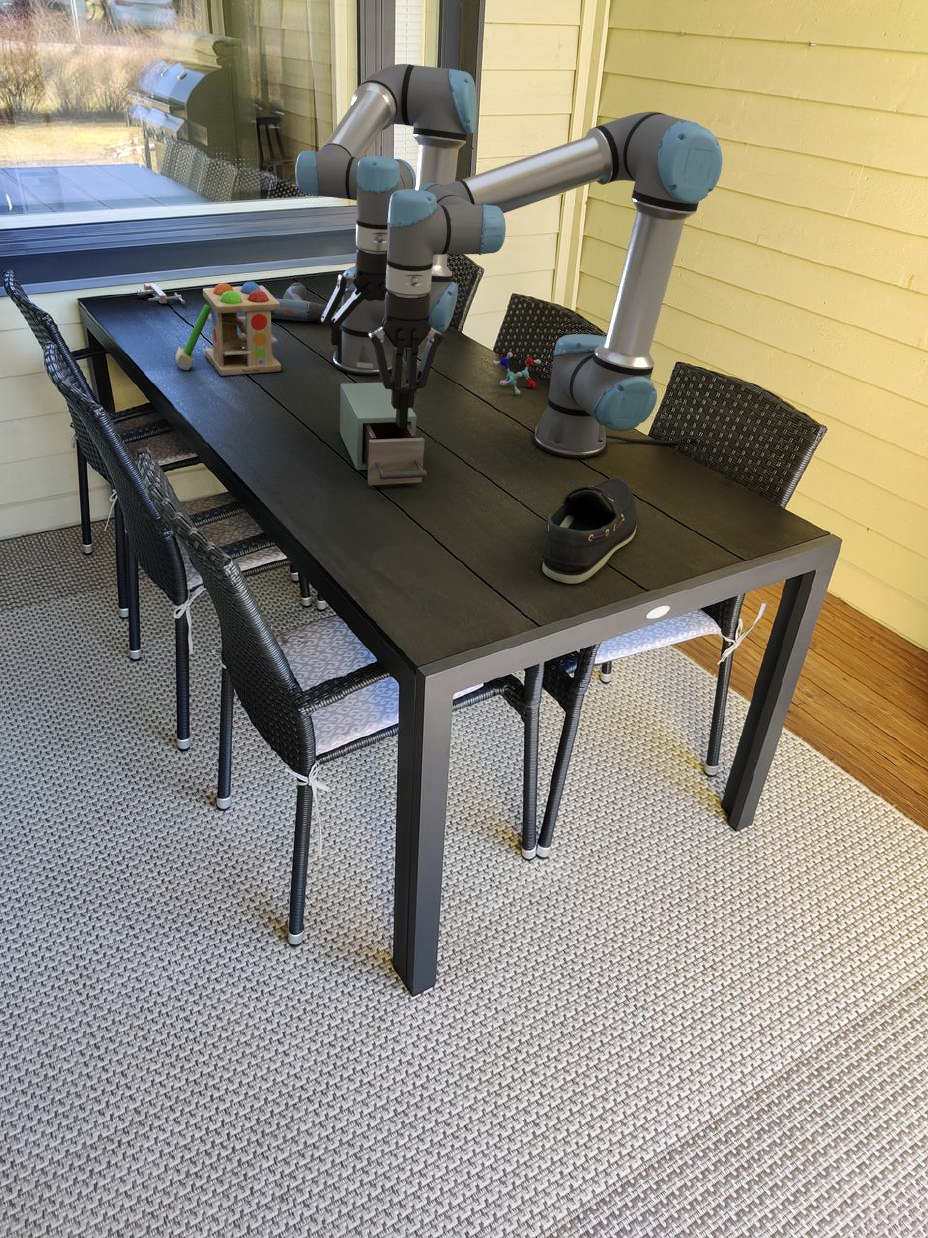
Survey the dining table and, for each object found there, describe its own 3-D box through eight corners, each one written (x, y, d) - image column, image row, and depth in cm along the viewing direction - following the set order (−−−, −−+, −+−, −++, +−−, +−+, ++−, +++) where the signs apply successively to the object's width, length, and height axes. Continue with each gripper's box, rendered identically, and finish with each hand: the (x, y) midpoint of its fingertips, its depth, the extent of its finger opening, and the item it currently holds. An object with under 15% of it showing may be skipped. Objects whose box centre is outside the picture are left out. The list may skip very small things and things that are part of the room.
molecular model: (536, 387, 225) (523, 344, 224) (499, 400, 229) (485, 359, 227) (549, 385, 235) (536, 345, 234) (513, 399, 239) (500, 359, 238)
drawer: (429, 496, 182) (432, 453, 177) (375, 499, 179) (377, 456, 174) (401, 446, 199) (403, 405, 194) (352, 448, 196) (352, 407, 191)
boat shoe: (659, 521, 184) (668, 470, 179) (580, 590, 160) (587, 533, 155) (597, 502, 190) (604, 452, 184) (512, 566, 166) (517, 511, 160)
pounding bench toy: (183, 379, 220) (176, 299, 210) (169, 357, 231) (162, 280, 221) (282, 371, 230) (280, 294, 220) (264, 350, 240) (262, 276, 230)
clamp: (132, 284, 268) (169, 281, 272) (133, 292, 269) (170, 289, 273) (148, 300, 257) (185, 297, 262) (148, 309, 259) (186, 306, 263)
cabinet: (413, 467, 194) (416, 416, 188) (356, 470, 190) (357, 418, 184) (393, 430, 207) (395, 382, 201) (339, 432, 204) (340, 383, 198)
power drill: (344, 304, 276) (335, 327, 259) (277, 298, 275) (264, 321, 258) (344, 285, 273) (335, 306, 256) (277, 279, 272) (264, 300, 255)
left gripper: (312, 253, 175) (312, 368, 187) (446, 254, 182) (438, 365, 194) (305, 242, 181) (306, 354, 193) (435, 244, 188) (428, 352, 200)
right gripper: (374, 298, 158) (370, 434, 171) (452, 298, 161) (441, 431, 175) (364, 284, 164) (361, 417, 177) (439, 284, 167) (431, 414, 180)
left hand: (372, 360), depth 194 cm, fingers open, 13 cm apart
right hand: (401, 424), depth 176 cm, fingers closed
